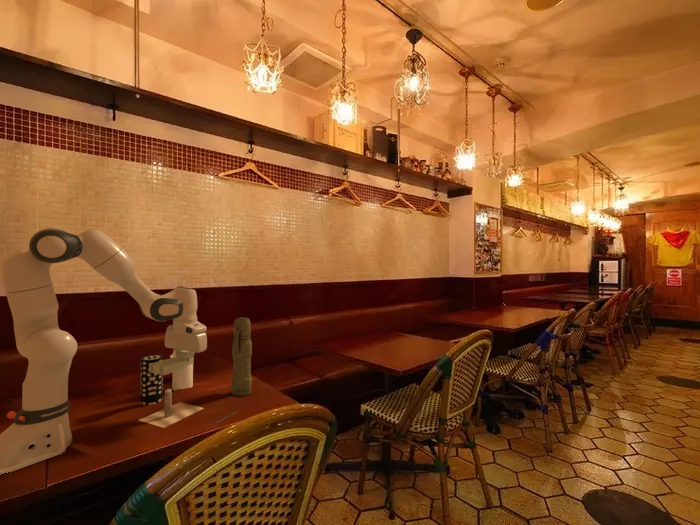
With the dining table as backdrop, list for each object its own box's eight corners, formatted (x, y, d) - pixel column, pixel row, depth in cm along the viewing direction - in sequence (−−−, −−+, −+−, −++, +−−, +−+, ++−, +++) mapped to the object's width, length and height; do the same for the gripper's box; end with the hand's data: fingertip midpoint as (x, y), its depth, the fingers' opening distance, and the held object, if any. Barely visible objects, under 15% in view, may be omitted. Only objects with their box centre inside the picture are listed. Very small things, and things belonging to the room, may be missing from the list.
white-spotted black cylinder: (152, 409, 139) (152, 360, 139) (135, 407, 141) (135, 359, 141) (167, 401, 147) (167, 355, 148) (150, 399, 149) (151, 354, 149)
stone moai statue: (227, 397, 152) (228, 320, 152) (236, 388, 164) (237, 316, 164) (246, 398, 152) (247, 320, 152) (254, 388, 163) (255, 316, 163)
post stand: (164, 431, 121) (164, 399, 121) (138, 424, 127) (138, 393, 127) (204, 411, 137) (204, 383, 137) (179, 405, 143) (179, 378, 143)
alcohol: (188, 384, 168) (189, 324, 168) (195, 389, 162) (196, 326, 162) (169, 388, 162) (170, 326, 162) (175, 394, 156) (176, 329, 156)
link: (163, 375, 124) (164, 361, 124) (149, 372, 127) (149, 358, 127) (197, 364, 138) (197, 351, 138) (183, 361, 141) (183, 349, 141)
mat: (215, 424, 127) (215, 423, 127) (195, 418, 131) (195, 418, 131) (237, 411, 138) (237, 410, 138) (219, 407, 142) (219, 406, 142)
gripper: (160, 325, 138) (160, 359, 138) (197, 330, 130) (196, 366, 130) (174, 323, 144) (173, 355, 144) (209, 327, 136) (209, 361, 136)
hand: (184, 360), depth 137 cm, fingers closed on link, 4 cm apart
